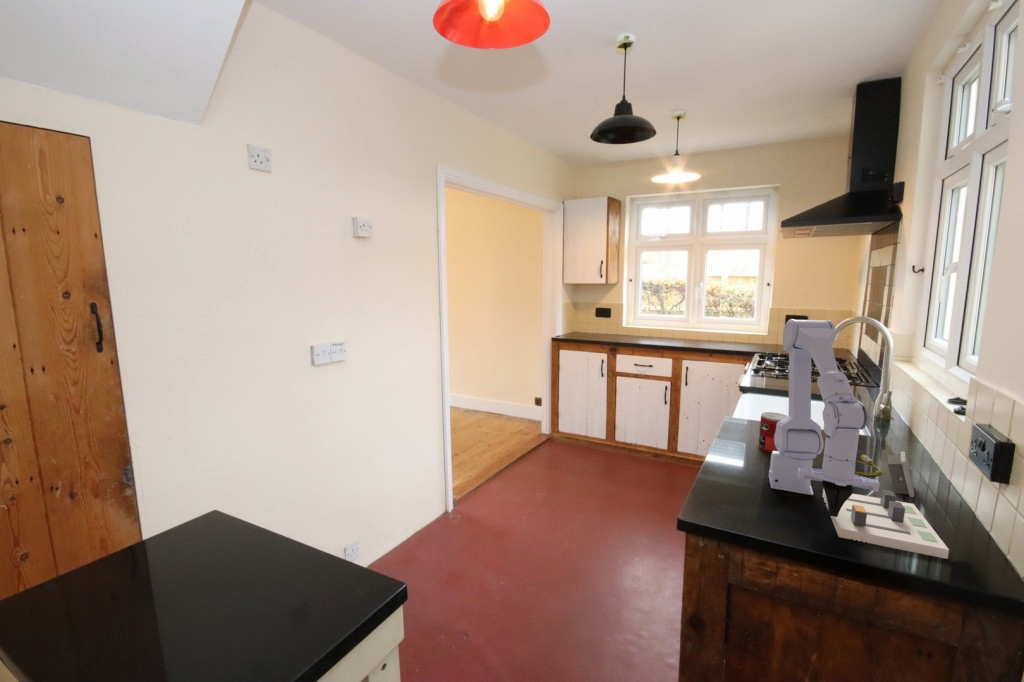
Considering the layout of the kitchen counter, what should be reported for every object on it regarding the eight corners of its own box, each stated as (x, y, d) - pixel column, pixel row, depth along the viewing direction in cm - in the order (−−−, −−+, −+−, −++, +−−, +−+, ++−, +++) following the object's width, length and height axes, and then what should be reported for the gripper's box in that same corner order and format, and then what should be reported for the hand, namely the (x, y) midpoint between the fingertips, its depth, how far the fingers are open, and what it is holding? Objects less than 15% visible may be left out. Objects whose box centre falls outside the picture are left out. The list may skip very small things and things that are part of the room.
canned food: (760, 442, 154) (763, 410, 152) (788, 448, 149) (791, 415, 148) (756, 450, 148) (759, 416, 146) (785, 455, 143) (788, 421, 142)
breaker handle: (853, 524, 101) (855, 510, 100) (850, 517, 103) (852, 504, 103) (865, 526, 100) (867, 512, 99) (861, 519, 103) (863, 506, 102)
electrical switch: (914, 499, 117) (914, 463, 116) (887, 495, 120) (887, 459, 119) (912, 486, 124) (913, 452, 123) (887, 482, 127) (888, 449, 126)
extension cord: (895, 469, 135) (895, 462, 135) (868, 481, 128) (868, 474, 127) (848, 454, 146) (848, 448, 145) (820, 465, 138) (821, 458, 138)
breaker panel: (838, 537, 100) (841, 513, 99) (822, 496, 118) (824, 476, 117) (947, 559, 93) (951, 534, 92) (912, 511, 111) (915, 490, 110)
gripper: (803, 456, 101) (797, 515, 103) (886, 469, 95) (878, 531, 97) (799, 445, 107) (793, 501, 109) (877, 456, 101) (869, 515, 103)
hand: (832, 514), depth 103 cm, fingers closed
